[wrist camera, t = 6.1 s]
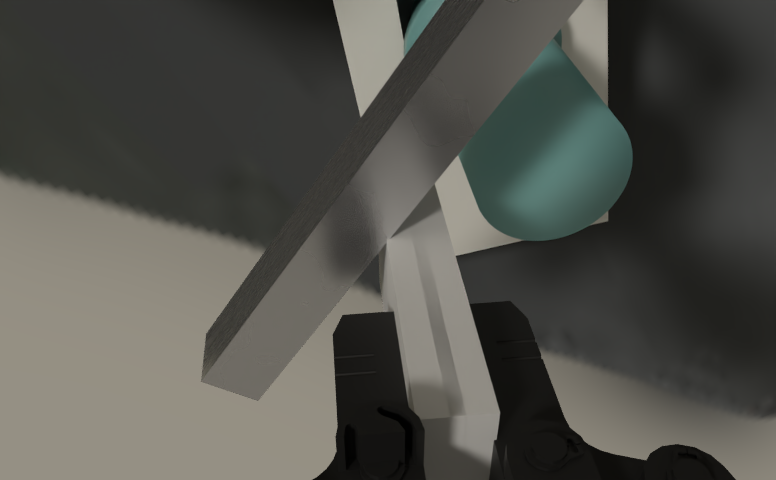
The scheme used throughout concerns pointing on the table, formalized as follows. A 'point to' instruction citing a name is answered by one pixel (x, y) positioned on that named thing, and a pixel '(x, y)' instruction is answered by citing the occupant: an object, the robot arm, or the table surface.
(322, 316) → the grey square bar
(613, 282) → the table surface
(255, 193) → the table surface
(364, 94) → the grey block with rod
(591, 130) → the plug
